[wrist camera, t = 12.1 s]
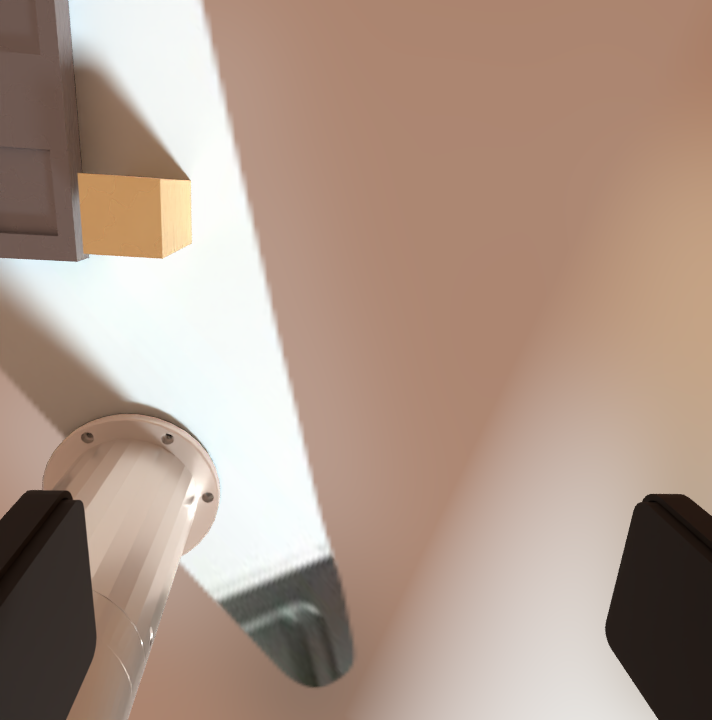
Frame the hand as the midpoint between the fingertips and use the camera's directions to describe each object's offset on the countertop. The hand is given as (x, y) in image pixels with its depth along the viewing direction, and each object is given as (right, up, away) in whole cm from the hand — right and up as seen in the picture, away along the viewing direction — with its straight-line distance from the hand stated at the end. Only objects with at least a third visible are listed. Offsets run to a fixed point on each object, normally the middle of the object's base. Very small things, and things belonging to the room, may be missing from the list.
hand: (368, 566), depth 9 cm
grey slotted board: (-21, +19, +24) cm, 37 cm away
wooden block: (-13, +13, +26) cm, 32 cm away
